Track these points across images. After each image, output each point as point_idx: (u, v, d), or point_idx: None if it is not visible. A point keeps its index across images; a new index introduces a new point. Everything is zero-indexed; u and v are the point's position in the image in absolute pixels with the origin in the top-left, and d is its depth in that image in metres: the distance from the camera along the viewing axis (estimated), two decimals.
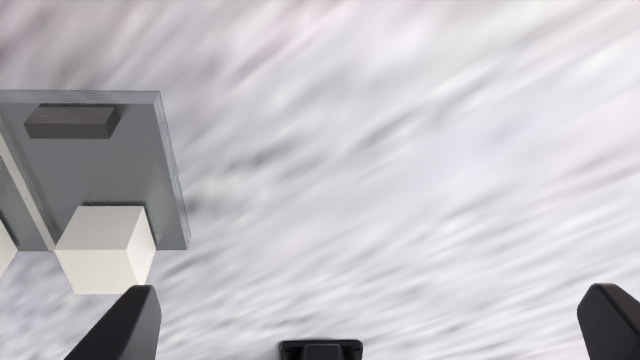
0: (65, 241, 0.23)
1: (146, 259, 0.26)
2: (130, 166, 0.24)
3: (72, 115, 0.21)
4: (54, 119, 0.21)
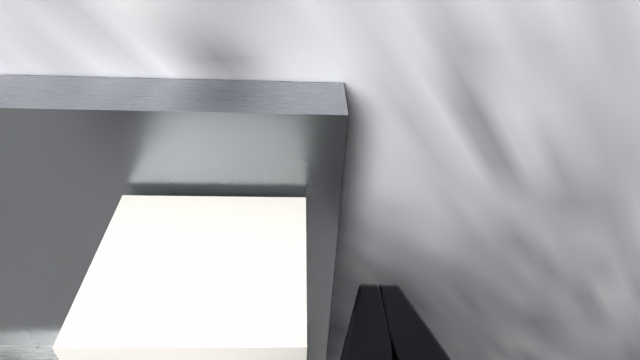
0: None
1: (257, 255, 0.08)
2: (16, 193, 0.09)
3: None
4: None
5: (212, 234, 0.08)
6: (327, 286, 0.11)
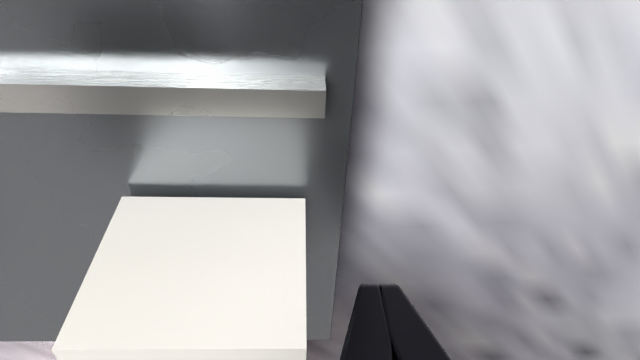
0: None
1: None
2: None
3: None
4: None
5: None
6: None
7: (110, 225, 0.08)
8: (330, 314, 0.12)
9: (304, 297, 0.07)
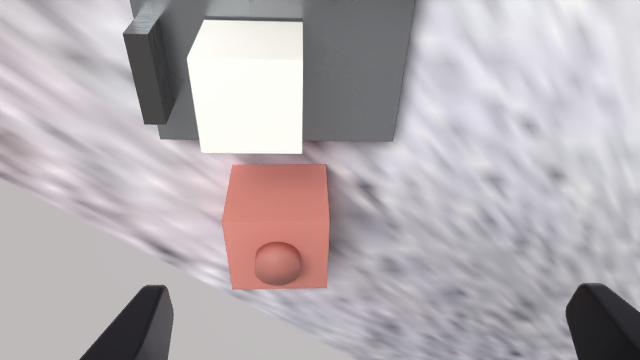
0: None
1: None
2: None
3: None
4: None
5: None
6: None
7: (201, 27, 0.16)
8: (395, 118, 0.19)
9: (302, 48, 0.15)
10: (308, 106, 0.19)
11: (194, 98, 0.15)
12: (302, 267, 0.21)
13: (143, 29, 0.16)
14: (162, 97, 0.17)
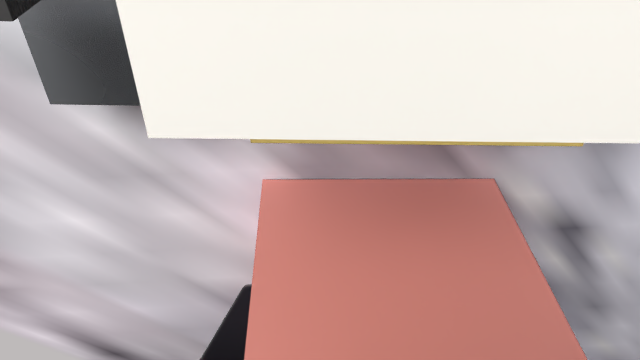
0: None
1: None
2: None
3: None
4: None
5: None
6: None
7: None
8: None
9: None
10: None
11: None
12: None
13: None
14: None
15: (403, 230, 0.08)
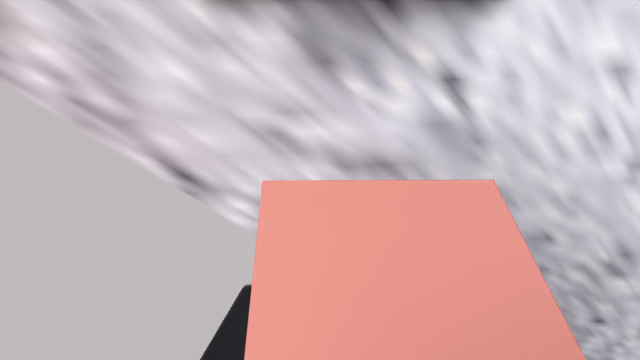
0: None
1: None
2: None
3: None
4: None
5: None
6: None
7: None
8: None
9: None
10: None
11: None
12: None
13: None
14: None
15: (403, 231, 0.08)
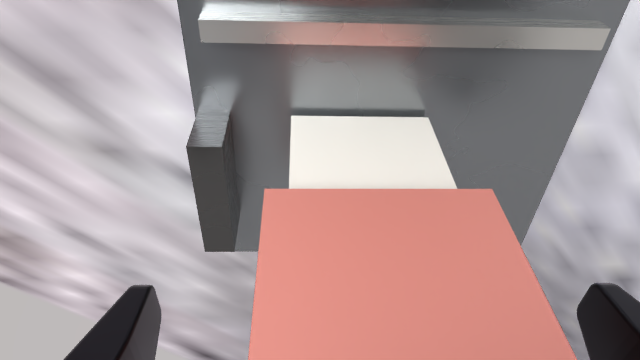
0: None
1: None
2: None
3: None
4: None
5: None
6: None
7: (292, 132, 0.11)
8: (527, 226, 0.15)
9: (449, 173, 0.10)
10: None
11: None
12: None
13: (213, 136, 0.11)
14: (232, 218, 0.12)
15: (403, 240, 0.08)
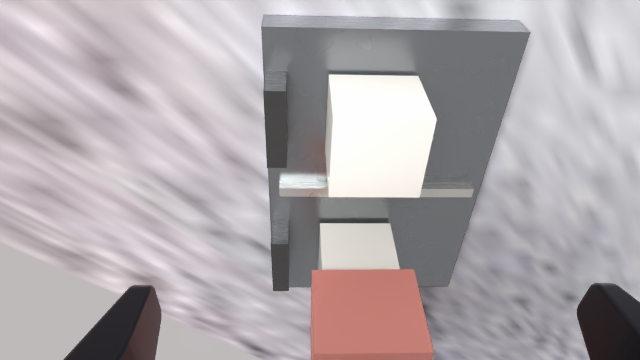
0: (328, 180, 0.18)
1: (404, 94, 0.17)
2: None
3: None
4: (266, 139, 0.18)
5: (379, 87, 0.17)
6: (493, 138, 0.20)
7: (321, 234, 0.22)
8: (451, 273, 0.26)
9: (397, 258, 0.21)
10: None
11: None
12: None
13: (283, 237, 0.22)
14: (288, 274, 0.23)
15: (372, 295, 0.19)
